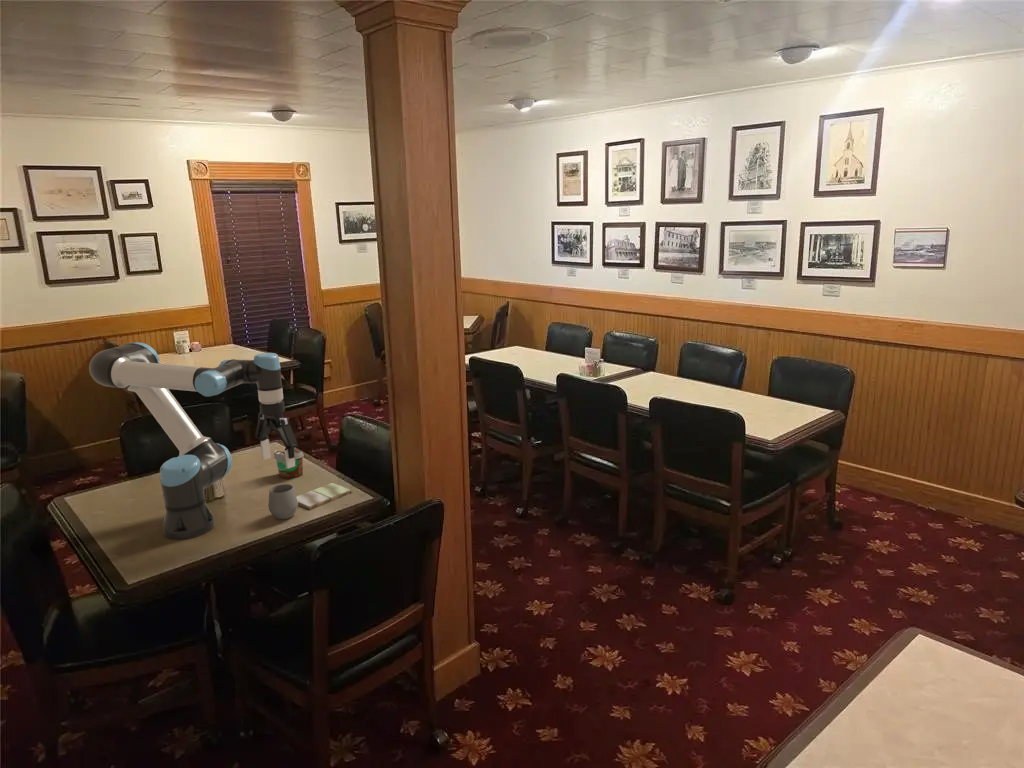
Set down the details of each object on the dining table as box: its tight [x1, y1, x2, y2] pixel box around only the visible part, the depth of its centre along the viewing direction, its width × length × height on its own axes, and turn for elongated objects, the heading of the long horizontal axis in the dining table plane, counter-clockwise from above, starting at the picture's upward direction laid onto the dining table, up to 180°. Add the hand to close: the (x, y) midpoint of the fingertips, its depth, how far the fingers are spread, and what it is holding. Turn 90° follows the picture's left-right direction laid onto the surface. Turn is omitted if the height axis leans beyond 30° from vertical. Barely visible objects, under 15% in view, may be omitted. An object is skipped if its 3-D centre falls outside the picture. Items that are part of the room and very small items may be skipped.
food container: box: [273, 448, 305, 480], centre depth 256 cm, size 12×6×10 cm, turn 73°
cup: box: [267, 483, 299, 520], centre depth 222 cm, size 10×9×10 cm
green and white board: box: [296, 482, 353, 510], centre depth 238 cm, size 18×12×1 cm, turn 142°
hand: (278, 463), depth 219 cm, fingers open, 13 cm apart
